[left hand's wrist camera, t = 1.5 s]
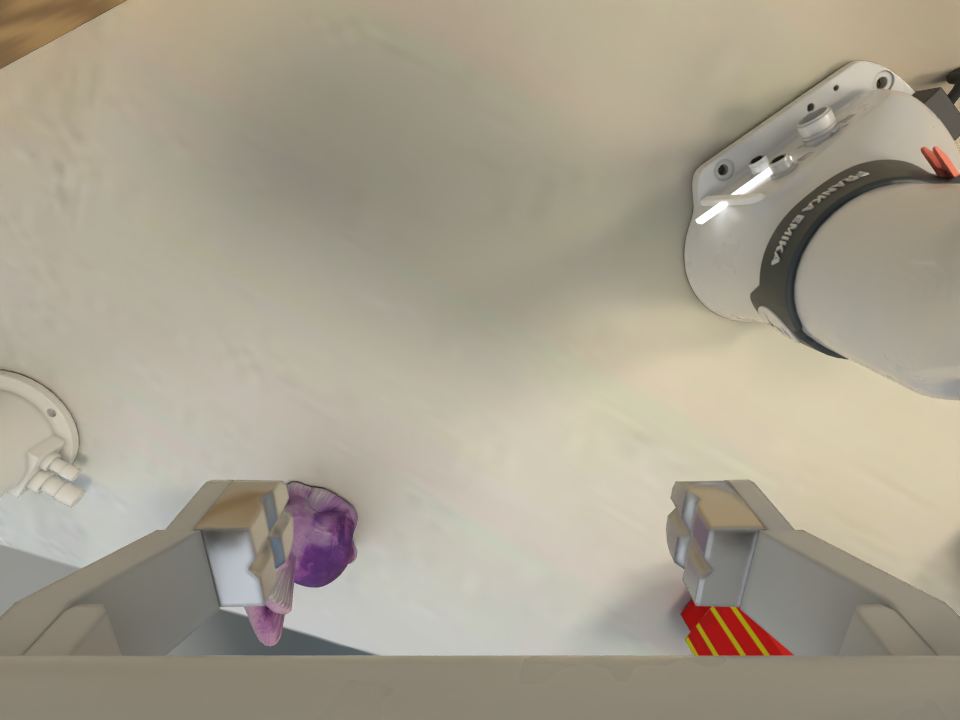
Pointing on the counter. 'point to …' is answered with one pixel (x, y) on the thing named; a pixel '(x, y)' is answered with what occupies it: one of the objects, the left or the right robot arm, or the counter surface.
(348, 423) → the counter surface
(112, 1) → the post
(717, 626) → the toy
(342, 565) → the figurine
